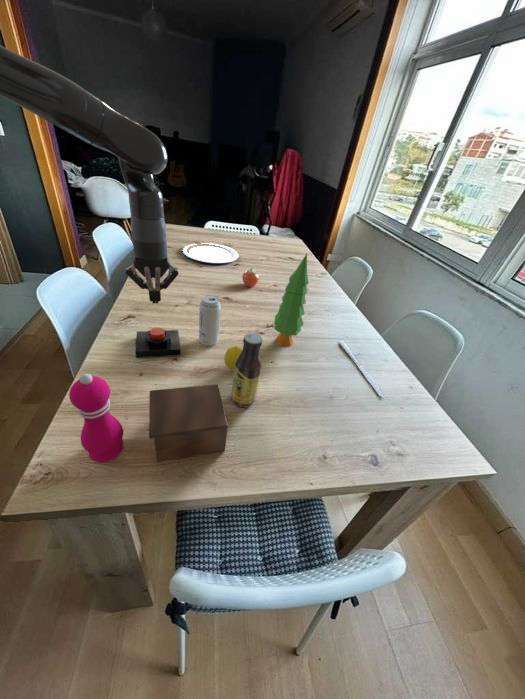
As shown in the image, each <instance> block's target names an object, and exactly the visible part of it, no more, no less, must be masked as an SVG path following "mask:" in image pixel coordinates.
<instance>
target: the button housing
mask: <svg viewBox="0 0 525 699" xmlns="http://www.w3.org/2000/svg"><path fill="white" fill-rule="evenodd" d="M150 330H151V329H150ZM150 330H145V331H136V338H135V349H134V350H135V351H134V354H135V358H136V359H141V358H142V359H143V358H156V357H157V358H158V357H170V356H171V357H173V356H181V343H180V333H179V329H170V330H167V329H164V330H165V337H164V338H163V339H161V340H154V339H152V338H151V337H150Z"/></svg>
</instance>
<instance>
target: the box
mask: <svg viewBox="0 0 525 699" xmlns="http://www.w3.org/2000/svg"><path fill="white" fill-rule="evenodd" d="M227 435H228V427H227V428H223V429H216V430H208V431H201V432H194V433H187V434H180V435H173V436H166V437H159V438H153V441H154V449H155V456H156V462H157V463H162V462H169V461H175V460H181V459H186V458H192V457H198V456H205V455H210V454H217V453H222V452H225V451H226V445H227Z"/></svg>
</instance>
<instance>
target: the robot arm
mask: <svg viewBox="0 0 525 699" xmlns="http://www.w3.org/2000/svg"><path fill="white" fill-rule="evenodd" d="M0 97H1V98H4V99H5V100H7V101H9V102H11V103H13V104H16V105H17V106H19V107H21V108H23V109H25V110H27V111H28V112H30V113H32V114H34V115H36V116H38V117H39V118H42V119H43V120H45V121H46V122H49V123H50V124H52V125H54V126H56V127H58V128H59V129H61V130H63V131H65V132H67V133H68V134H70V135H72V136H74V137H76V138H78V139H79V140H81V141H83V142H85V143H87V144H89V145H90V146H93V147H95V148H97V149H99V150H102V151H104V152H107V153H110V154H112V155H114V156H116V157H117V160H118V165H119V167H120V170H121V171H120V172H121V174H122V178H123V181H124V184H125V187H126V190H127V193H128V204H129V213H130V230H131V231H130V234H131V237H132V238H131V239H132V247H133V254H134V255H133V256H134V258H133V262H132V264H131V265H128V266H126V267H125V274H126V276H128V278H130V279H131V280H132V281H133V282H134V283H135V284H136V285H137V286H138V287H139V288H140V290H141V289H142V290H147V291H148V297H149V298H148V299H149V301H150V302H152V304H159V302H161V300H162V295H161V293H162V292H161V291H162V290H166V289H168V288H169V287H170V285H171V284H172V283H173V281H175V279H176V278H177V277H178V276H179V268H178V267H176V266H175V267H174V266H173V265H171V262H170V259H169V256H168V255H169V254H168V239H167V236H168V235H167V225H166V221H165V220H166V219H165V208H164V206H165V204H164V196H163V192H162V190H161V188H159V186H158V185H157V184H156V183H155V178H154V175H158V174H160V173H162V172H163V171H164V170H165V168H166V167H167V164H168V160H169V158H168V157H169V156H168V150H167V148H166V146H165V144H164V142H163V141H162V140H161V138H159V136H158V135H157V134H155V133H154V132H152V131H151V130H149V129H148V128H146V127H144V126H143V125H142V124H139V123H137V122H136V121H134V120H133V119H130V118H128V117H126V116H125V115H123V114H121V113H120V112H117V111H116V110H114V109H113V108H111V107H110V106H109V105H108V104H106V102H104V101H103V100H100V98H98V97H96V96H95V95H94V94H92V93H90V92H89V91H87V90H86V89H85V88H84V87H82V86H80V85H79V84H77V83H76V82H74V81H72V80H71V79H69V78H68V77H66V76H63V75H62V74H60V73H59V72H57V71H55V70H54V69H53V70H52V69H51V68H48V67H46V66H45V65H42V64H40V63H39V62H36V61H33V60H32V59H30V58H27V57H25V56H23V55H20V54H18V53H17V52H14V51H13V50H11V49H8V48H6V47H4V46H3V45H1V44H0ZM138 272H139V274H140V275H142V277H141V276H140V275H139V274H138ZM166 272H168V274H167V275H166V277H165V278H164V279H163V280H162V281H161V278H162V277H164V275H165V274H166ZM143 277H144V278H145V279H143ZM153 279H154V282H153Z"/></svg>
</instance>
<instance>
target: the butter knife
mask: <svg viewBox="0 0 525 699" xmlns="http://www.w3.org/2000/svg"><path fill="white" fill-rule="evenodd" d="M338 342H339V344H340V346H341V347H342V349H343V350H344V351H345V352H346V354H347V355H348V356H349V357H350V358H351V360H352V361H353V362H354V363H355V365H356V366H357V367H358V368H359V370H360V371H361V373H362V374H363V376H364V377H365V379H366V380H367V381H368V382H369V384H370V385H371V386H372V388H373V389H374V390H375V392H376V393H377V395H379V397H383V396H384V395H383V392H382V391H381V389H380V386H379V384H378V383H377V381H376V380H375V379H374V377H372V375H371V374H370V373H369V372H368V371H367V370H366V369H365V368H364V367H363V366H362V365H361V363H360V362H359V361H358V360H357V358H356V357H355V356H354V354H353V353H352V351H351V349H350V347H349V346H348V344H346V343H345V341H343V340H339V341H338Z"/></svg>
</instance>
